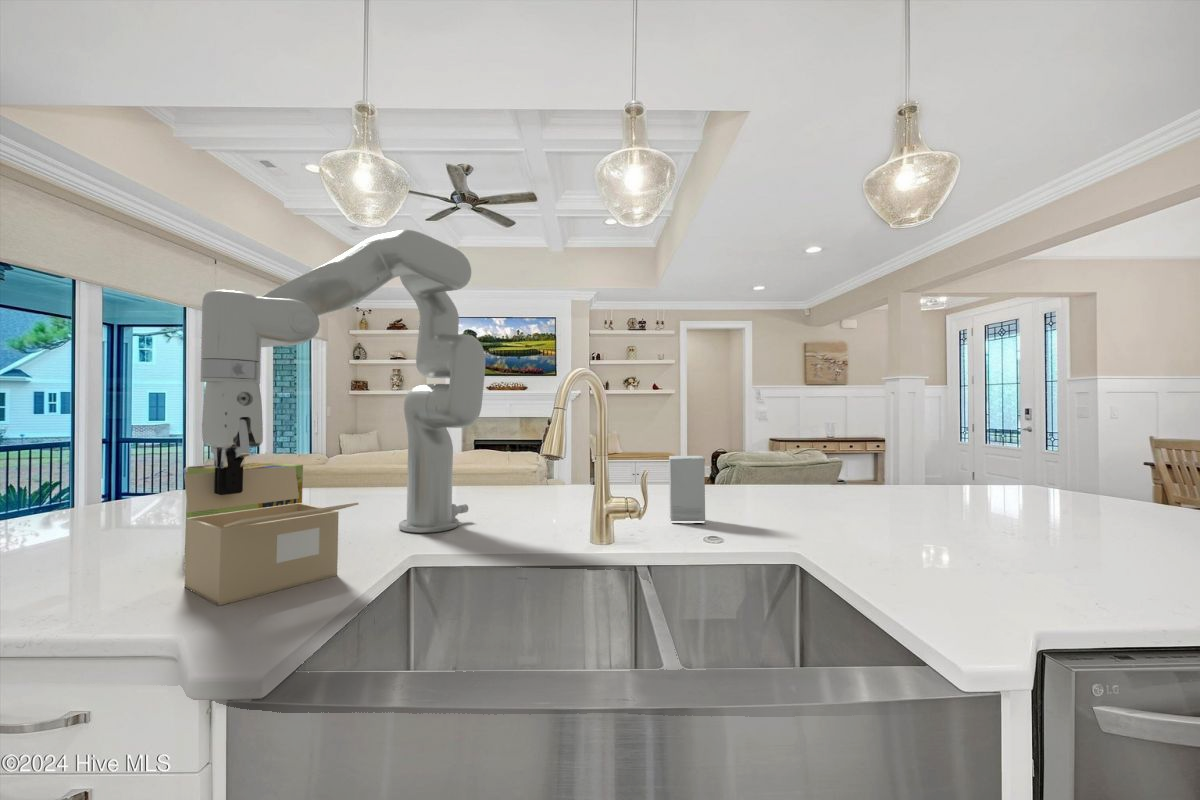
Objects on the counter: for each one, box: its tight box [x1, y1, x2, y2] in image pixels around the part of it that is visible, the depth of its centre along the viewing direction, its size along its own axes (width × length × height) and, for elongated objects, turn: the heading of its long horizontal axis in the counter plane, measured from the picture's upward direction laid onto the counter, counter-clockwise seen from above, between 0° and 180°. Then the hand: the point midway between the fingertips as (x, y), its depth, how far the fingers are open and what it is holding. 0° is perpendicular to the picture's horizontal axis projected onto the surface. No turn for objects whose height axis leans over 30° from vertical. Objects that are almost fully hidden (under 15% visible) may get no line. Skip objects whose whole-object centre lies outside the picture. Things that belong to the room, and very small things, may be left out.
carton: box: [184, 502, 340, 607], centre depth 80 cm, size 16×12×10 cm
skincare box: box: [668, 455, 706, 522], centre depth 126 cm, size 8×7×16 cm
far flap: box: [183, 466, 299, 513], centre depth 84 cm, size 16×6×1 cm
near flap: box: [224, 502, 359, 527], centre depth 75 cm, size 16×6×1 cm, turn 145°
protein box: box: [184, 462, 304, 553], centre depth 97 cm, size 10×15×16 cm
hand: (228, 493), depth 81 cm, fingers closed
